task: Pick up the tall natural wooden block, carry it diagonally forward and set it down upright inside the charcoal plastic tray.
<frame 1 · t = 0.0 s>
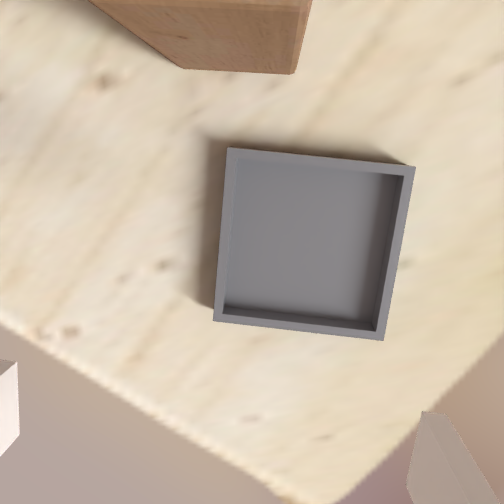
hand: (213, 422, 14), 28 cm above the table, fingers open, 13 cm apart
wooden block: (240, 8, 37), on the table
tray: (307, 241, 41), on the table
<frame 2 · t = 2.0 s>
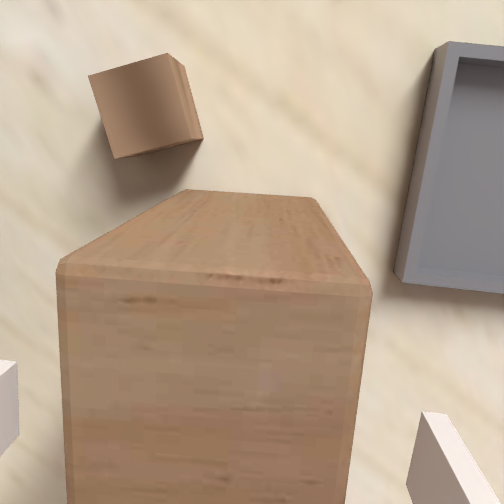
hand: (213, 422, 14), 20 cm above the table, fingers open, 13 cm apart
wooden block: (245, 257, 34), on the table
walnut cube: (160, 112, 32), on the table
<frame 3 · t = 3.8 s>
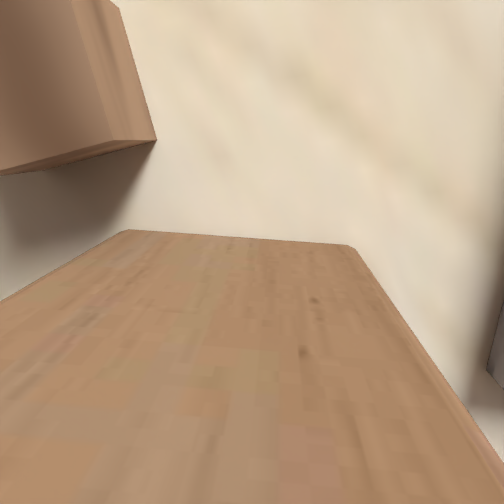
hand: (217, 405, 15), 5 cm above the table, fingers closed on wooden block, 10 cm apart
wooden block: (232, 341, 20), on the table, touching gripper
walnut cube: (80, 93, 18), on the table
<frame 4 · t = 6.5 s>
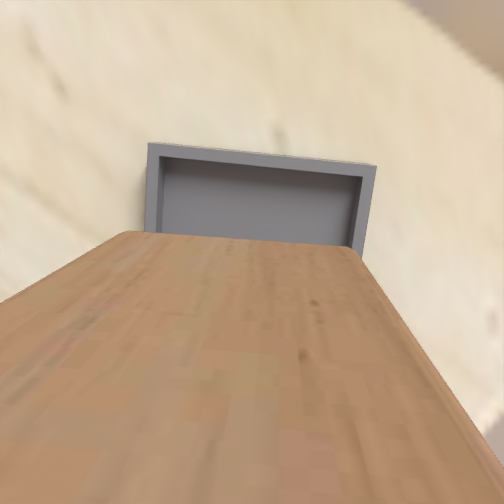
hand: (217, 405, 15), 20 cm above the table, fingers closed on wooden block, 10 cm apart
wooden block: (232, 343, 20), point 15 cm above the table, touching gripper
tray: (252, 255, 35), on the table
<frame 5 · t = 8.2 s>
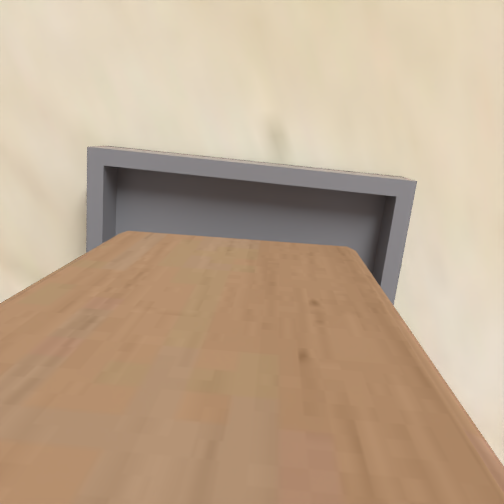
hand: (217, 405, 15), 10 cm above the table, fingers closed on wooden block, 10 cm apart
wooden block: (232, 343, 20), point 5 cm above the table, touching gripper
tray: (239, 300, 25), on the table
when the fingers open (7 cm above the table, at t = 9.5 s): wooden block drops 1 cm, resting on tray.
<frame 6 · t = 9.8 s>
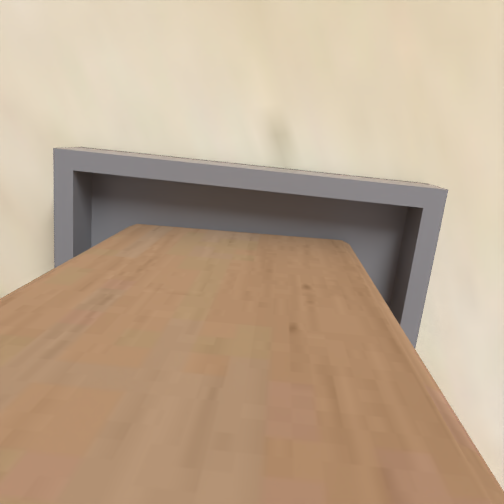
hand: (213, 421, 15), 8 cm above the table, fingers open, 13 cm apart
wooden block: (233, 330, 22), resting on tray
tray: (235, 326, 22), on the table
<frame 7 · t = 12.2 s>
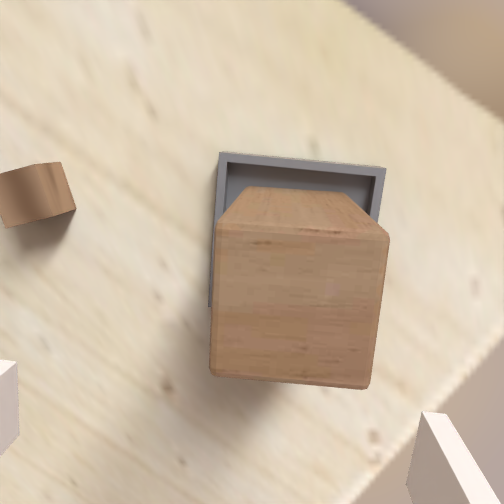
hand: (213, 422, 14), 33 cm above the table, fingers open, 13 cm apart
wooden block: (291, 237, 46), resting on tray
tray: (292, 236, 46), on the table
walnut cube: (47, 191, 47), on the table
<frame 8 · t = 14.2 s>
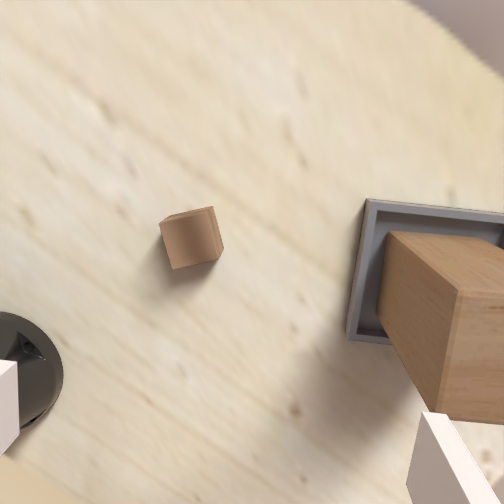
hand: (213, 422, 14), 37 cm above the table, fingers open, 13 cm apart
wooden block: (425, 276, 50), resting on tray
tray: (424, 274, 50), on the table
walnut cube: (197, 231, 51), on the table
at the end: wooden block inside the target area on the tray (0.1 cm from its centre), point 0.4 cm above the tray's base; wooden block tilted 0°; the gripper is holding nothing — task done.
